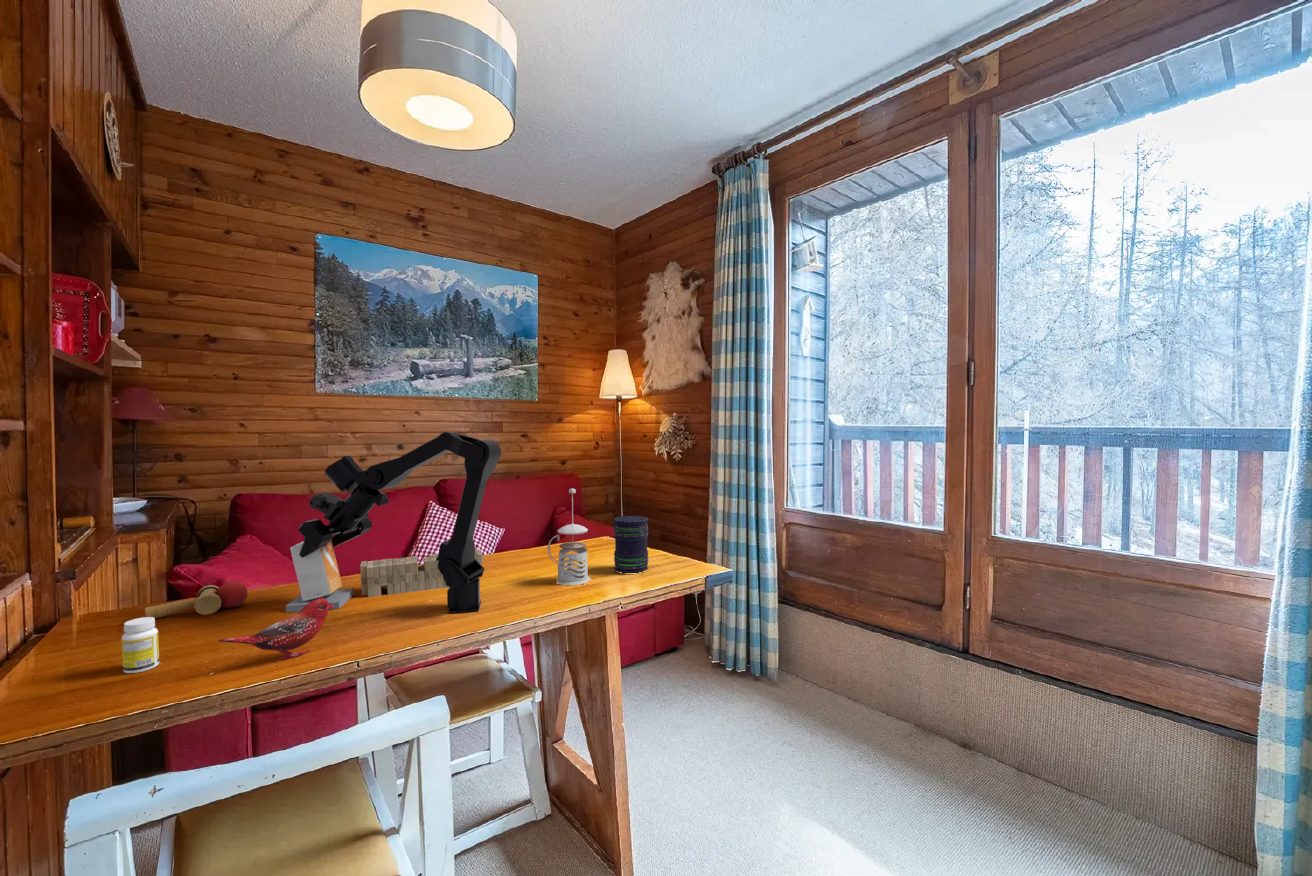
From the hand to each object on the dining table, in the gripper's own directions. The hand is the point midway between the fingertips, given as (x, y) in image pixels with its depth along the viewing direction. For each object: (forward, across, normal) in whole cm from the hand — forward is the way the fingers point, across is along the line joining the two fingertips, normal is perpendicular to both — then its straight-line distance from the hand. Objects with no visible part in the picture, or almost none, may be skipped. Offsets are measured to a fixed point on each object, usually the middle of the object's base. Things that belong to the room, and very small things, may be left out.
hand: (315, 551), depth 133 cm
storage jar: (-40, -37, +59) cm, 80 cm away
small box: (+6, 0, +8) cm, 10 cm away
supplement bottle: (+13, +36, +5) cm, 39 cm away
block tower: (-4, -16, +22) cm, 27 cm away
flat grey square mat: (+8, 0, +10) cm, 12 cm away
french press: (-30, -24, +48) cm, 62 cm away
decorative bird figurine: (-3, +31, +21) cm, 37 cm away
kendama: (+25, +9, -7) cm, 27 cm away
